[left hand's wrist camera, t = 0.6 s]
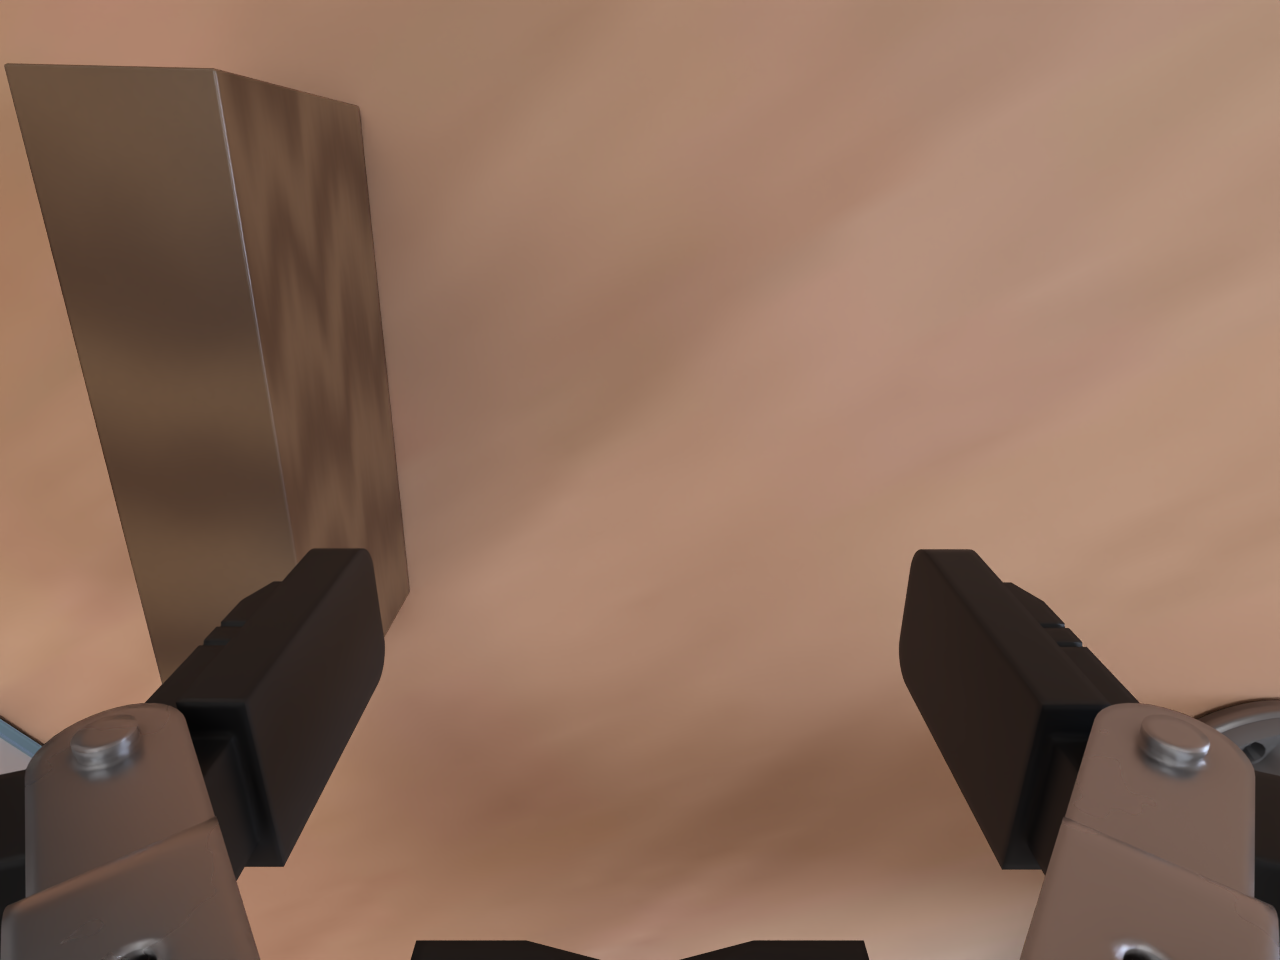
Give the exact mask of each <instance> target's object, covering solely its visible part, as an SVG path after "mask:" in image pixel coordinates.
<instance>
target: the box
mask: <svg viewBox="0 0 1280 960" xmlns="http://www.w3.org/2000/svg"><path fill="white" fill-rule="evenodd" d="M4 67H5V71H6V75H7V79H8V82H9V86H10V90H11V94H12V98H13V102H14V106H15V110H16V114H17V118H18V122H19V125H20V129H21V133H22V137H23V141H24V145H25V149H26V153H27V157H28V161H29V165H30V169H31V172H32V176H33V180H34V184H35V188H36V192H37V196H38V200H39V204H40V208H41V212H42V215H43V219H44V223H45V227H46V231H47V235H48V239H49V243H50V247H51V251H52V255H53V259H54V262H55V266H56V270H57V274H58V278H59V282H60V286H61V290H62V294H63V298H64V302H65V305H66V309H67V313H68V317H69V321H70V325H71V329H72V333H73V337H74V341H75V345H76V349H77V352H78V356H79V360H80V364H81V368H82V372H83V376H84V380H85V384H86V388H87V392H88V395H89V399H90V403H91V407H92V411H93V415H94V419H95V423H96V427H97V431H98V435H99V439H100V442H101V446H102V450H103V454H104V458H105V462H106V466H107V470H108V474H109V478H110V482H111V485H112V489H113V493H114V497H115V501H116V505H117V509H118V513H119V517H120V521H121V525H122V529H123V532H124V536H125V540H126V544H127V548H128V552H129V556H130V560H131V564H132V568H133V572H134V575H135V579H136V583H137V587H138V591H139V595H140V599H141V603H142V607H143V611H144V615H145V619H146V622H147V626H148V630H149V634H150V638H151V642H152V646H153V650H154V654H155V658H156V662H157V665H158V669H159V673H160V677H161V681H162V684H163V683H164V682H165V681H166V680H167V679H168V678H169V677H170V676H171V675H172V673H173V672H174V671H175V670H176V669H177V668H178V667H179V666H180V665H181V664H182V663H183V662H184V661H185V660H186V659H187V658H188V656H189V655H190V654H191V653H192V652H193V651H194V650H195V649H196V648H197V647H198V646H199V645H203V643H204V641H203V640H204V639H205V638H206V637H207V636H208V635H209V634H210V633H211V632H212V631H213V630H214V629H215V628H216V627H220V626H221V621H222V620H223V619H224V618H225V617H226V616H227V615H228V614H229V613H230V612H231V611H232V610H233V608H234V607H235V606H236V605H237V604H238V603H239V602H240V601H241V600H242V599H244V598H246V597H248V596H249V595H251V594H253V593H254V592H256V591H258V590H259V589H261V588H263V587H265V586H266V585H268V584H270V583H271V582H273V581H283V580H284V579H285V577H286V576H287V575H288V574H289V573H290V572H291V571H292V569H293V568H294V567H295V566H296V565H297V564H298V563H299V562H300V560H301V559H302V558H303V557H304V556H305V555H306V554H307V552H309V551H310V550H311V549H313V548H364V549H366V550H368V552H369V553H370V555H371V558H372V561H373V566H374V573H375V579H376V586H377V593H378V599H379V606H380V613H381V620H382V626H383V633H384V637H385V635H386V633H387V631H388V630H389V628H390V626H391V624H392V622H393V621H394V619H395V617H396V615H397V613H398V612H399V610H400V608H401V606H402V605H403V603H404V601H405V599H406V597H407V596H408V594H409V582H408V573H407V563H406V554H405V544H404V534H403V525H402V515H401V506H400V496H399V487H398V477H397V467H396V458H395V448H394V439H393V429H392V420H391V410H390V400H389V391H388V381H387V372H386V362H385V353H384V343H383V333H382V324H381V314H380V305H379V295H378V286H377V276H376V266H375V257H374V247H373V238H372V228H371V219H370V209H369V199H368V190H367V180H366V171H365V161H364V152H363V142H362V133H361V123H360V113H359V107H358V106H356V105H352V104H348V103H344V102H340V101H337V100H333V99H329V98H325V97H321V96H317V95H314V94H310V93H306V92H302V91H298V90H295V89H291V88H287V87H283V86H279V85H275V84H272V83H268V82H264V81H260V80H256V79H252V78H249V77H245V76H241V75H237V74H233V73H230V72H226V71H222V70H218V69H214V68H179V67H137V66H95V65H53V64H11V63H7V64H5V66H4Z"/></svg>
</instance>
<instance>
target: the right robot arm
mask: <svg viewBox="0 0 1280 960" xmlns="http://www.w3.org/2000/svg"><path fill="white" fill-rule="evenodd" d="M1197 720H1199V721H1201V722H1203V723H1205V724H1207V725H1209V726H1210V727H1212V728H1214V729H1216V730H1217V731H1219V732H1220V733H1222V734H1223V735H1225V736H1226V737H1227V738H1229V739H1230V740H1231V741H1232V742H1234V743H1235V744H1236V745H1237V746H1238V747H1239V748H1240V749H1241V750H1242V751H1243V752H1244V753H1245V755H1246V756H1247V757H1248V759H1249V760H1250V762H1251V764H1252V766H1253V768H1254V770H1256V771H1260V772H1264V773H1269V774H1274V775H1279V776H1280V700H1267V701H1257V702H1250V703H1244V704H1240V705H1236V706H1232V707H1228V708H1225V709H1222V710H1219V711H1216V712H1213V713H1211V714H1208V715H1206V716H1203V717H1201V718H1199V719H1197Z"/></svg>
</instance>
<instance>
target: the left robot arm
mask: <svg viewBox="0 0 1280 960" xmlns="http://www.w3.org/2000/svg"><path fill="white" fill-rule="evenodd" d="M203 641H204V643H203V645H199V646H198V647H197V648H196V649H195V650H194V651H193V652H192V653H191V654H190V655H189V656H188V658H187V659H186V660H185V661H184V662H183V663H182V664H181V665H180V666H179V667H178V668H177V669H176V670H175V671H174V672H173V673H172V675H171V676H170V677H169V678H168V679H167V680H166V681H165V682H164V683H163V684H162V685H161V686H160V687H159V688H158V689H157V691H156V692H155V693H154V694H153V695H152V696H151V697H150V698H149V699H148V700H147V701H146V702H145V703H140V704H132V705H126V706H121V707H117V708H113V709H110V710H106V711H103V712H100V713H98V714H95V715H92V716H90V717H88V718H85V719H83V720H81V721H79V722H77V723H75V724H73V725H71V726H70V727H68V728H66V729H64V730H63V731H61V732H60V733H58V734H57V735H55V736H54V737H53V738H51V739H50V740H49V741H48V742H46V743H45V744H44V745H43V746H42V747H41V748H40V749H39V750H38V751H37V752H36V753H35V755H34V756H33V757H32V759H31V760H30V762H29V764H28V766H27V768H26V769H25V770H20V771H15V772H10V773H6V774H1V775H0V960H260V957H259V954H258V950H257V947H256V944H255V941H254V937H253V934H252V931H251V928H250V924H249V921H248V918H247V915H246V911H245V908H244V905H243V901H242V898H241V895H240V892H239V888H238V885H237V882H236V881H237V879H238V877H239V876H240V874H241V872H242V870H243V869H244V867H284V865H285V863H286V861H287V859H288V857H289V855H290V853H291V851H292V850H293V848H294V846H295V844H296V842H297V840H298V838H299V836H300V834H301V832H302V830H303V828H304V826H305V824H306V822H307V820H308V818H309V817H310V815H311V813H312V811H313V809H314V807H315V805H316V803H317V801H318V799H319V797H320V795H321V793H322V791H323V789H324V787H325V785H326V784H327V782H328V780H329V778H330V776H331V774H332V772H333V770H334V768H335V766H336V764H337V762H338V760H339V758H340V756H341V754H342V753H343V751H344V749H345V747H346V745H347V743H348V741H349V739H350V737H351V735H352V733H353V731H354V729H355V727H356V725H357V723H358V721H359V720H360V718H361V716H362V714H363V712H364V710H365V708H366V706H367V704H368V702H369V700H370V698H371V696H372V694H373V692H374V690H375V688H376V687H377V685H378V682H379V680H380V677H381V674H382V670H383V665H384V656H385V641H384V633H383V626H382V620H381V613H380V606H379V599H378V593H377V586H376V579H375V573H374V566H373V561H372V558H371V555H370V553H369V552H368V550H366V549H364V548H313V549H311V550H310V551H309V552H307V554H306V555H305V556H304V557H303V558H302V559H301V560H300V562H299V563H298V564H297V565H296V566H295V567H294V568H293V569H292V571H291V572H290V573H289V574H288V575H287V576H286V577H285V579H284V580H283V581H273V582H271V583H270V584H268V585H266V586H265V587H263V588H261V589H259V590H258V591H256V592H254V593H253V594H251V595H249V596H248V597H246V598H244V599H242V600H241V601H240V602H239V603H238V604H237V605H236V606H235V607H234V608H233V610H232V611H231V612H230V613H229V614H228V615H227V616H226V617H225V618H224V619H223V620H222V621H221V626H220V627H216V628H215V629H214V630H213V631H212V632H211V633H210V634H209V635H208V636H207V637H206V638H205V639H204V640H203ZM899 659H900V667H901V672H902V676H903V679H904V682H905V684H906V686H907V688H908V690H909V692H910V694H911V696H912V698H913V700H914V701H915V703H916V705H917V707H918V709H919V711H920V713H921V715H922V717H923V719H924V721H925V723H926V724H927V726H928V728H929V730H930V732H931V734H932V736H933V738H934V740H935V742H936V744H937V746H938V747H939V749H940V751H941V753H942V755H943V757H944V759H945V761H946V763H947V765H948V767H949V768H950V770H951V772H952V774H953V776H954V778H955V780H956V782H957V784H958V786H959V788H960V790H961V791H962V793H963V795H964V797H965V799H966V801H967V803H968V805H969V807H970V809H971V811H972V813H973V814H974V816H975V818H976V820H977V822H978V824H979V826H980V828H981V830H982V832H983V834H984V836H985V837H986V839H987V841H988V843H989V845H990V847H991V849H992V851H993V853H994V855H995V857H996V859H997V860H998V862H999V864H1000V866H1001V868H1002V869H1042V871H1043V873H1044V875H1045V879H1044V882H1043V885H1042V888H1041V892H1040V895H1039V898H1038V901H1037V905H1036V908H1035V911H1034V915H1033V918H1032V921H1031V924H1030V928H1029V931H1028V934H1027V937H1026V941H1025V944H1024V947H1023V950H1022V954H1021V957H1020V960H1280V776H1279V775H1274V774H1269V773H1264V772H1260V771H1256V770H1254V768H1253V766H1252V764H1251V762H1250V760H1249V759H1248V757H1247V756H1246V755H1245V753H1244V752H1243V751H1242V750H1241V749H1240V748H1239V747H1238V746H1237V745H1236V744H1235V743H1234V742H1232V741H1231V740H1230V739H1229V738H1227V737H1226V736H1225V735H1223V734H1222V733H1220V732H1219V731H1217V730H1216V729H1214V728H1212V727H1210V726H1209V725H1207V724H1205V723H1203V722H1201V721H1199V720H1197V719H1195V718H1192V717H1190V716H1188V715H1185V714H1182V713H1180V712H1177V711H1174V710H1170V709H1167V708H1163V707H1159V706H1154V705H1148V704H1140V703H1139V702H1138V701H1137V700H1136V699H1135V698H1134V696H1133V695H1132V694H1131V693H1130V692H1129V691H1128V690H1127V689H1126V688H1125V687H1124V686H1123V685H1122V684H1121V683H1120V682H1119V681H1118V680H1117V679H1116V677H1115V676H1114V675H1113V674H1112V673H1111V672H1110V671H1109V670H1108V669H1107V668H1106V667H1105V666H1104V665H1103V664H1102V663H1101V662H1100V661H1099V660H1098V658H1097V657H1096V656H1095V655H1094V654H1093V653H1092V652H1091V651H1090V650H1089V649H1088V648H1087V647H1083V646H1082V642H1081V640H1080V639H1079V638H1078V637H1077V636H1076V635H1075V634H1074V633H1073V632H1072V631H1071V630H1070V629H1069V628H1065V626H1064V623H1063V621H1062V620H1061V619H1060V618H1059V617H1058V616H1057V615H1056V614H1055V613H1054V612H1053V611H1052V610H1051V609H1050V608H1049V607H1048V606H1047V605H1046V604H1045V602H1044V601H1042V600H1040V599H1038V598H1037V597H1035V596H1033V595H1032V594H1030V593H1028V592H1026V591H1025V590H1023V589H1021V588H1020V587H1018V586H1016V585H1014V584H1013V583H1003V582H1002V581H1001V580H1000V579H999V578H998V577H997V576H996V574H995V573H994V572H993V571H992V570H991V569H990V568H989V567H988V565H987V564H986V563H985V562H984V561H983V560H982V559H981V558H980V556H979V555H978V554H977V553H976V552H975V551H973V550H969V549H920V550H918V551H917V552H916V553H915V555H914V557H913V559H912V563H911V568H910V574H909V581H908V587H907V594H906V601H905V607H904V614H903V621H902V627H901V634H900V641H899ZM411 960H599V959H595V958H591V957H587V956H584V955H580V954H576V953H572V952H568V951H564V950H561V949H557V948H553V947H549V946H545V945H541V944H538V943H534V942H530V941H416V944H415V947H414V950H413V954H412V957H411ZM681 960H869V957H868V954H867V950H866V947H865V944H864V941H750V942H746V943H742V944H739V945H735V946H731V947H727V948H723V949H719V950H716V951H712V952H708V953H704V954H700V955H696V956H693V957H689V958H685V959H681Z"/></svg>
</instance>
